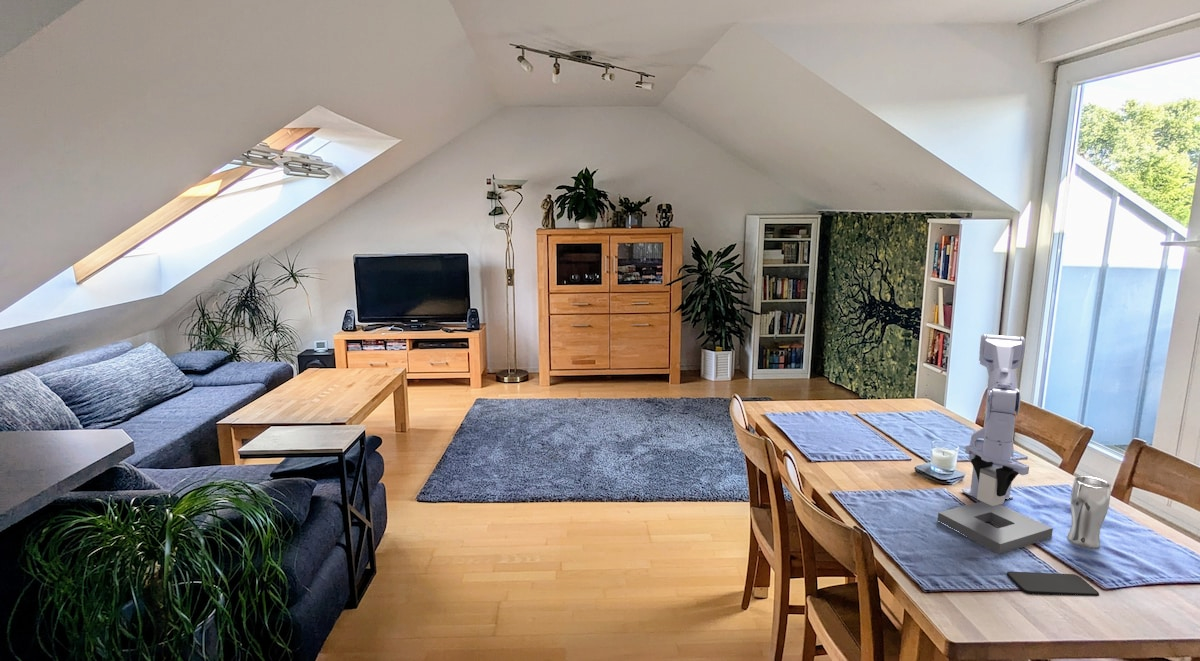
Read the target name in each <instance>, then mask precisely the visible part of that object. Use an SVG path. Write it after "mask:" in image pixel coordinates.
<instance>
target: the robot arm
mask: <svg viewBox="0 0 1200 661" xmlns="http://www.w3.org/2000/svg"><path fill="white" fill-rule="evenodd" d="M979 345H980V346H979V359H978V361H979V365H981V366H983V367H985V368H986V370H987V374H988V378H987V379H988V380H987V389H986V390H987V392H986V399H985V411H984V412H985V413H984V420H983V421H984V422H983V423H984V424H983V427H982V428H979V429H977V430H975V431H973V432H972V434H971V435H970V436H971V437H970V439H969V440H970V441H969V444H968V445H966V446H965V449H964V450H965V451H964V453H965V454H967V455H968V460H969V461H970V463H971V464H972V474H971V482H970V483H971V484H970V488H968V489H967V488H966V489H963V490H962V493H964V494H966V495H968V496H969V497H972V498H974V499H976V500H978V499H977V494H978V485H979V477H980V468H985V467H989V466H994V467H996V468H998V469H996V474H997V496H1004V495H1005V499H1007V500H1010V499H1009V498H1011V499H1014V496H1013V495H1011V489H1012V483H1013V481H1014V480H1015V479H1016V477H1017V476H1018V475H1021V476H1026V475H1029V473H1030V466H1029V465H1027V464H1024V462H1021V461H1019V460H1017V458H1014V433H1015V426H1016V416H1018V414H1019V412H1020V407H1021V394H1020V393H1021V392H1020V390H1019V388H1018V377H1017V374H1016V372H1015V371H1013V370H1016V369H1019V368H1020V366H1021V365H1022V362H1023V359H1024V358H1025V350H1026V338H1025V337H1024V336H1012V335H1002V334H1001V335H998V334H987V333H983V334H982V335H981V336H980V343H979ZM1005 499H1004V501H1006V500H1005Z"/></svg>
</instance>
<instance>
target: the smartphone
mask: <svg viewBox="0 0 1200 661" xmlns="http://www.w3.org/2000/svg"><path fill="white" fill-rule="evenodd" d="M1006 576H1007V578H1008V579H1009V580H1010V581H1011V582H1013V583H1014V585H1016V587H1017V588H1018V589H1019V590H1021V591H1022V592H1023V593H1024V594H1026V595H1038V596H1039V595H1041V596H1074V597H1075V596H1076V597H1077V596H1082V597H1083V596H1084V597H1087V596H1088V597H1099V596H1100V593H1099V591H1098V590H1097V589H1096V588H1095V587H1093V586H1092V585H1090V584H1089V583H1088V582H1087V581H1086V580H1085V579H1083V578H1082V577H1081V576H1079V575H1077V574H1073V573H1053V572H1027V571H1026V572H1025V571H1007V572H1006Z"/></svg>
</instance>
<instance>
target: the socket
mask: <svg viewBox="0 0 1200 661" xmlns="http://www.w3.org/2000/svg"><path fill="white" fill-rule="evenodd" d="M938 521H940V522H942V523H944V524H946V525H948V526H949V527H951V528H953V529H955V530H957V531H959V532H960V533H962V534H964V535H965V536H964V535H963V536H964V537H966V536H967V537H968V539H969V538H970V539H969V540H971V539H972V541H973V540H974V541H973V542H975V543H978V544H979V545H981V546H983V547H985V548H987V549H988V548H989V550H990V549H991V550H990V551H992V550H993V551H992V552H994V553H997V554H998V555H1000V554H1004V552H1005V553H1007V552H1011V551H1014V550H1017V549H1020V548H1023V547H1026V546H1029V545H1033V544H1036V543H1039V542H1040V543H1041V542H1042V541H1046V540H1049V539H1052V537H1053V536H1052V535H1053V529H1054V527H1052V526H1049V525H1047V524H1045V523H1042V522H1040V521H1038V520H1035V519H1033V518H1031V517H1029V516H1026V515H1024V514H1022V513H1020V512H1018V511H1015V510H1013V509H1011V508H1009V507H1007V506H1004V505H1002V504H999V505H995V506H991V505H989V504H987V503H984V502H982V501H980V500H979V501H977V502H973V503H970V504H966V505H962V506H957V507H955V508H951V509H947V510H943V511H938V514H937V522H938ZM989 522H991V523H993V524H995V525H997V526H999V528H997V527H995V526H994V525H991V524H989ZM960 533H959V534H960ZM962 534H961V535H962ZM967 537H966V538H967Z"/></svg>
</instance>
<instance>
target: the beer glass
mask: <svg viewBox="0 0 1200 661" xmlns="http://www.w3.org/2000/svg"><path fill="white" fill-rule="evenodd" d="M1111 487H1112V486H1111V483H1110V482H1107V481H1106V480H1103V479H1101V478H1098V477H1093V476H1086V475H1079V476H1078V475H1077V476H1075V477H1074V480H1073V484H1072V487H1071V488H1072V489H1071V494H1070V513H1071V523H1070V524H1071V525H1070V528H1069V532H1068V534H1067V536H1066V537H1067V540H1068V541H1069V542H1070V543H1071V544H1072V543H1073V544H1074V545H1077V547H1081V548H1085V549H1098V548H1100V547H1101V539H1100V535H1101V534H1100V533H1101V529H1102V526H1103V524H1104V521H1105V519H1106V517H1107V514H1108V511H1109V508H1110V502H1111V501H1110V500H1111V489H1112V488H1111Z"/></svg>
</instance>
